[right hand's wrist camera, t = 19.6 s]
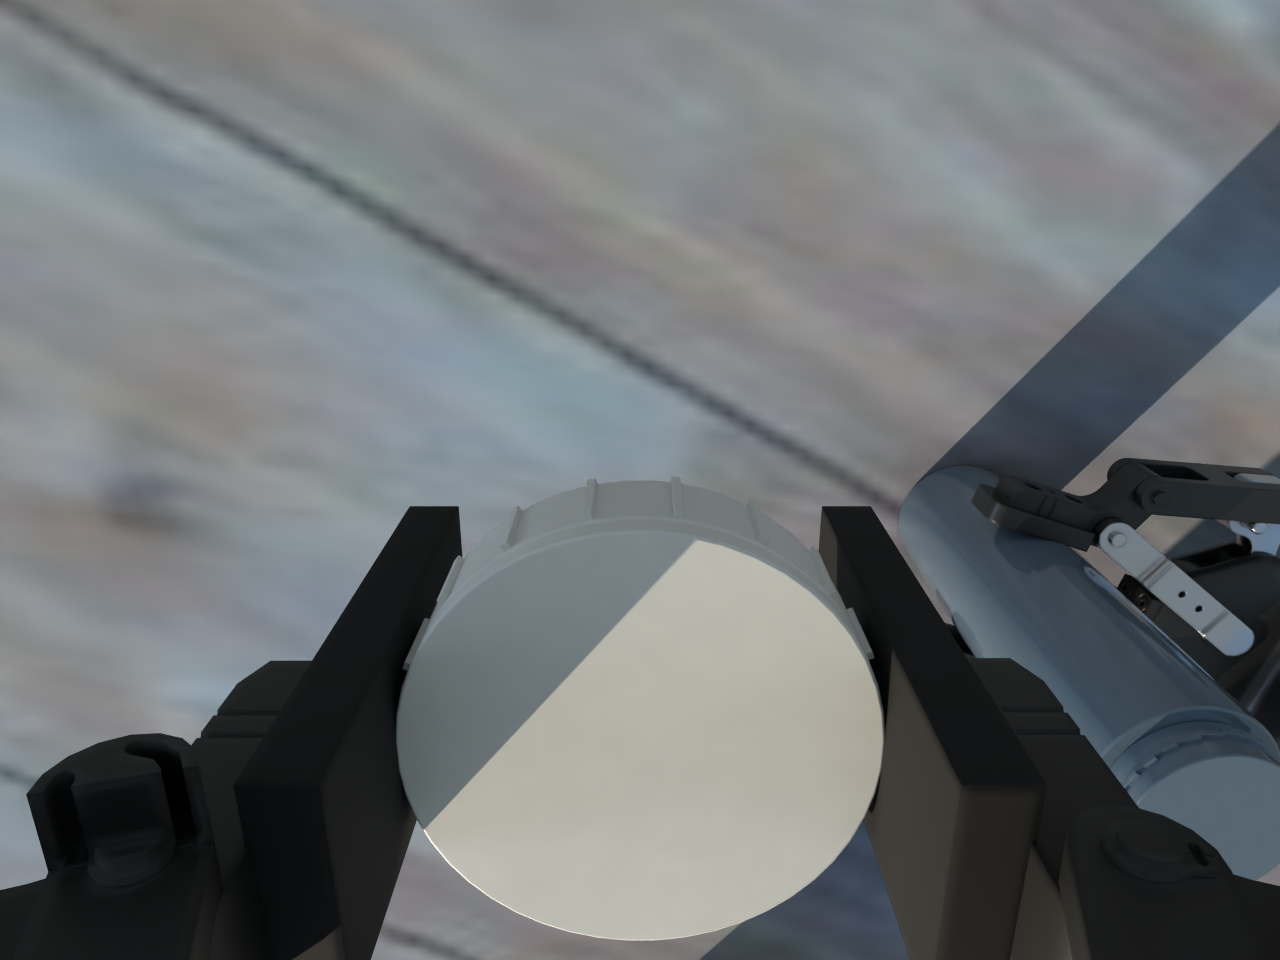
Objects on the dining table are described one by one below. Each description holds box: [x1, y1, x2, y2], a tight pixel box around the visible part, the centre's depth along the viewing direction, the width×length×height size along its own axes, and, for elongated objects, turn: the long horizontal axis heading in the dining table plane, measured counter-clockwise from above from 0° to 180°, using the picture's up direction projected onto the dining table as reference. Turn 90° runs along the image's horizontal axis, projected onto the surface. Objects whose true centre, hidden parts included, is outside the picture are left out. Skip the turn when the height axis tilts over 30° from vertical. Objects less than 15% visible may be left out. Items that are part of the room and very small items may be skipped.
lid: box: [396, 477, 885, 940], centre depth 11 cm, size 6×6×2 cm
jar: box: [898, 466, 1280, 881], centre depth 30 cm, size 5×5×19 cm
